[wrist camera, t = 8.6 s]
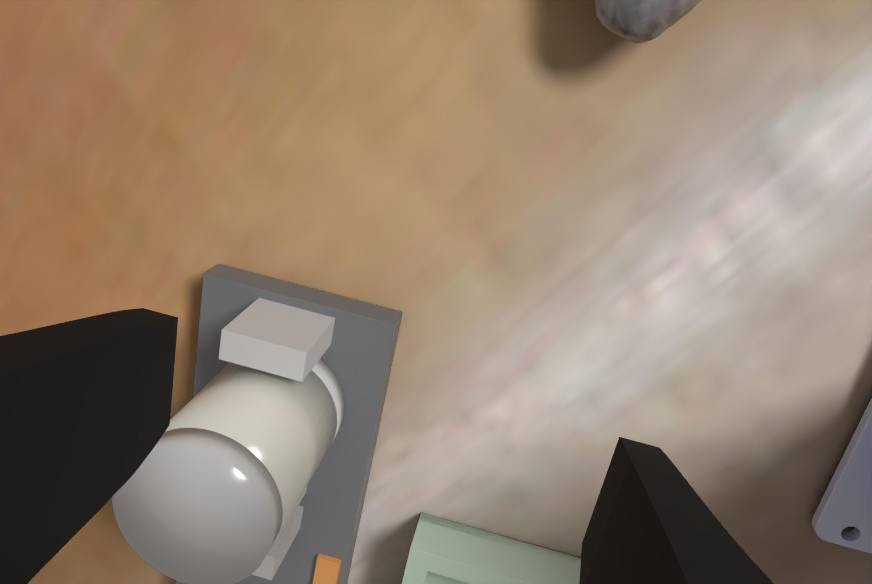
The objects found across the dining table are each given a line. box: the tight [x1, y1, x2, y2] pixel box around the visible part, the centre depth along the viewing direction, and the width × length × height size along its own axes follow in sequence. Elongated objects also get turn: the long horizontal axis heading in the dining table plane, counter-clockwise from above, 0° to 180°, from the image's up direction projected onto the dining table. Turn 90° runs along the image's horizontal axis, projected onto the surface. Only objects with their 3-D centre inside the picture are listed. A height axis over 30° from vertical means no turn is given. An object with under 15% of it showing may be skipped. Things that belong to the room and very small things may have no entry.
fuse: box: [112, 359, 345, 584], centre depth 20 cm, size 4×4×6 cm
